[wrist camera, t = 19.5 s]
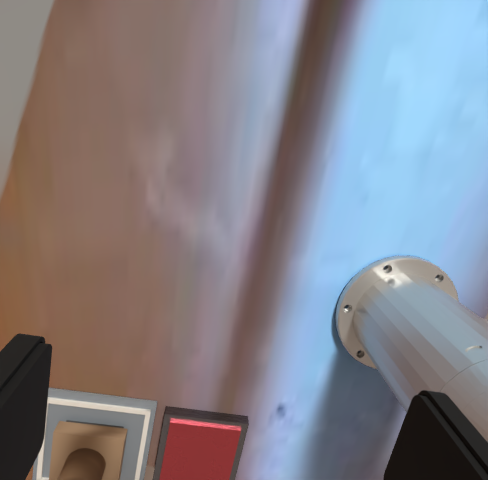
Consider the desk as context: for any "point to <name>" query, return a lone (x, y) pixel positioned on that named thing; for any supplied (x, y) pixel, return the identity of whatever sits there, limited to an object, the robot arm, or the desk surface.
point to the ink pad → (199, 445)
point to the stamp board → (101, 412)
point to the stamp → (87, 451)
